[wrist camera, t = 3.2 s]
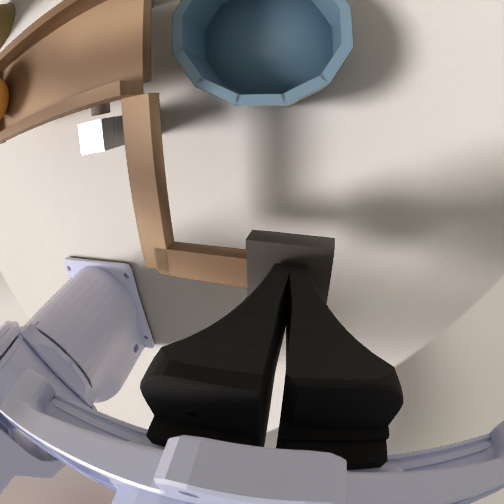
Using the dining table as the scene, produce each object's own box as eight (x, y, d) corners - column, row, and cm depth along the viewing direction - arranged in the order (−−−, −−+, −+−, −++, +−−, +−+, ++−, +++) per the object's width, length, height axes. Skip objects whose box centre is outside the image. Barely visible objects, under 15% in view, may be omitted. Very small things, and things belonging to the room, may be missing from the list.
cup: (341, 109, 14) (353, 109, 10) (202, 108, 15) (174, 110, 12) (336, -12, 10) (344, -40, 7) (200, -6, 11) (174, -30, 8)
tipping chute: (326, 297, 14) (320, 347, 11) (35, 248, 19) (8, 267, 16) (333, -47, 6) (329, -89, 3) (7, 65, 11) (-26, 71, 9)
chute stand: (156, 135, 16) (104, 151, 12) (135, 138, 16) (81, 155, 12) (154, -11, 11) (106, -37, 6) (133, -4, 11) (82, -25, 7)
